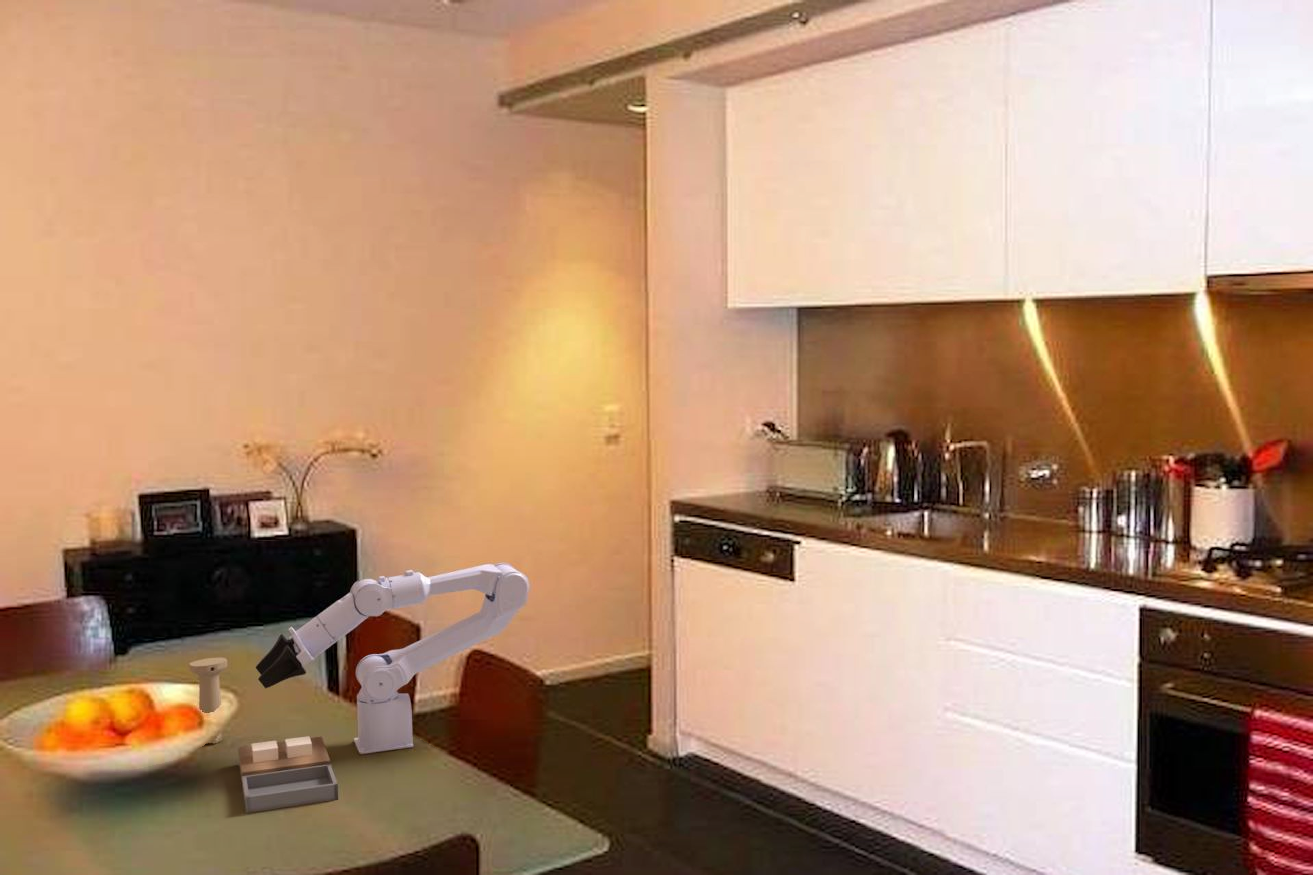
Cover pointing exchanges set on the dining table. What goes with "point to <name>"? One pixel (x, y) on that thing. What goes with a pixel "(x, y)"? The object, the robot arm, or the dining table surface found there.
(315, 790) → the tray
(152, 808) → the dining table surface
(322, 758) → the board
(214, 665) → the handle
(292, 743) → the tile
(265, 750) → the tile
